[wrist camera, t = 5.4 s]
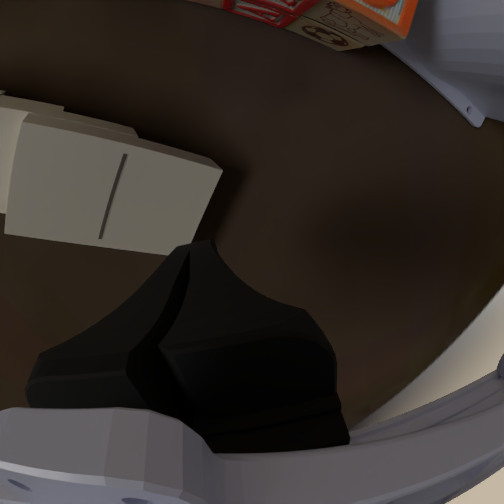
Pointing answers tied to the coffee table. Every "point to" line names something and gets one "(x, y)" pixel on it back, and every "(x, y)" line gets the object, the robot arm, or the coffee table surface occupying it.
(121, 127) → the domino
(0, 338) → the coffee table surface
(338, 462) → the robot arm
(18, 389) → the coffee table surface
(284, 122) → the coffee table surface
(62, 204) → the domino
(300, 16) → the stack of blocks
